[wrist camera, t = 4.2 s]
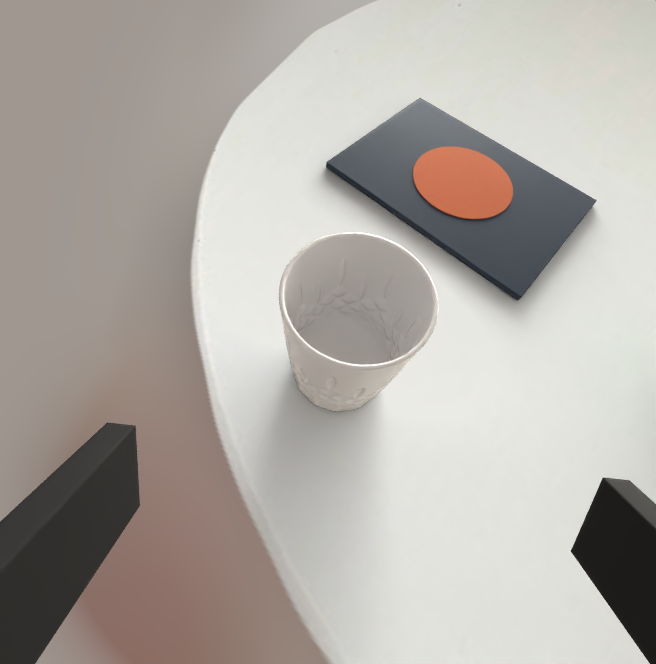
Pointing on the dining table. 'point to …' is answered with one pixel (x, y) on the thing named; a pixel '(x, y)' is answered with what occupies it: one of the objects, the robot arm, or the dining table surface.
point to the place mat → (465, 193)
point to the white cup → (354, 316)
